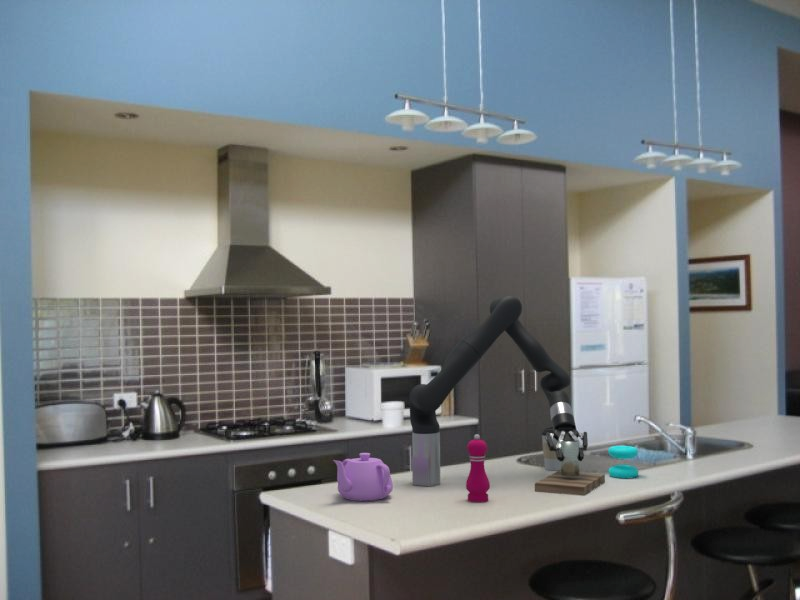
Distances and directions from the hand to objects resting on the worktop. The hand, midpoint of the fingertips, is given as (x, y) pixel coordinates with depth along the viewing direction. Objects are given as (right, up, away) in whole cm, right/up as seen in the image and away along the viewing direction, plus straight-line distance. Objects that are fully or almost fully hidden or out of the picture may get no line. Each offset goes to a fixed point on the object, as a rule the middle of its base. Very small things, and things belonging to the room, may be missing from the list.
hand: (571, 459), depth 279 cm
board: (0, -9, +1) cm, 9 cm away
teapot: (-68, -10, -13) cm, 70 cm away
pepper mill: (-32, -9, -18) cm, 38 cm away
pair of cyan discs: (+22, -9, +18) cm, 30 cm away
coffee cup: (+1, -10, +34) cm, 36 cm away
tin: (0, -5, +2) cm, 5 cm away
